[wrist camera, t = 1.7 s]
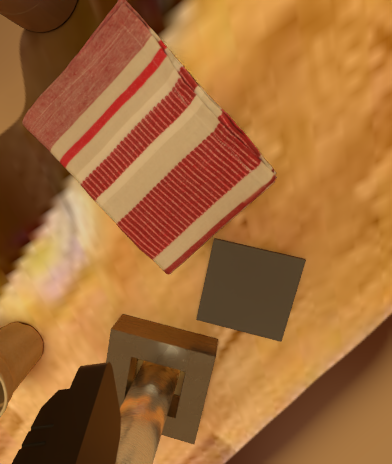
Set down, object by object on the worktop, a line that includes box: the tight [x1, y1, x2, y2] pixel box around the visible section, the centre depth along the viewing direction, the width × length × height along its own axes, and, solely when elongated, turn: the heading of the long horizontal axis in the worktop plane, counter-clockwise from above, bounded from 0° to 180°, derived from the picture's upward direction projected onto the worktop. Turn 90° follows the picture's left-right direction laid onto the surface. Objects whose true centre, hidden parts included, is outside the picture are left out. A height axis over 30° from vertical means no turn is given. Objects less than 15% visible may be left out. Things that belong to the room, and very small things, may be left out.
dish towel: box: [23, 0, 277, 274], centre depth 32 cm, size 17×23×3 cm
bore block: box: [106, 314, 218, 444], centre depth 37 cm, size 12×12×4 cm
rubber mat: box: [196, 238, 306, 341], centre depth 34 cm, size 10×10×1 cm
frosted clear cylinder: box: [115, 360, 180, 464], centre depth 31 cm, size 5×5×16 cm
